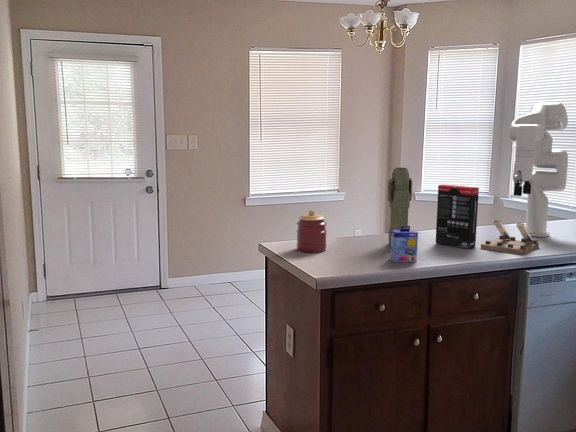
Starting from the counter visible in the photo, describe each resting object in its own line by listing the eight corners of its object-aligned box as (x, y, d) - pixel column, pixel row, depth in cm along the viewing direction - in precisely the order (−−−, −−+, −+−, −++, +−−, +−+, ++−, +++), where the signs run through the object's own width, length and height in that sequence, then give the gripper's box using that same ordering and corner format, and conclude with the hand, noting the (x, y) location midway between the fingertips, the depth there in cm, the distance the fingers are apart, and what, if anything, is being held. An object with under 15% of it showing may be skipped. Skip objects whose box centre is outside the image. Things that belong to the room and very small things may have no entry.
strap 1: (504, 238, 260) (504, 236, 261) (510, 239, 258) (511, 237, 259) (493, 222, 249) (494, 220, 250) (500, 223, 247) (501, 220, 248)
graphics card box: (476, 247, 252) (480, 186, 248) (469, 249, 247) (473, 187, 243) (441, 242, 264) (444, 183, 259) (434, 244, 259) (437, 184, 254)
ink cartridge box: (393, 262, 224) (394, 226, 222) (389, 259, 229) (390, 224, 227) (417, 262, 225) (418, 226, 222) (413, 258, 230) (414, 223, 228)
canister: (292, 251, 243) (292, 211, 240) (302, 245, 255) (302, 207, 252) (321, 254, 238) (321, 212, 236) (329, 247, 250) (330, 208, 248)
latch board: (499, 241, 264) (499, 234, 263) (538, 247, 252) (539, 239, 251) (480, 248, 249) (481, 240, 249) (521, 254, 237) (522, 246, 237)
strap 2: (526, 241, 253) (526, 239, 254) (532, 242, 251) (533, 240, 252) (516, 225, 242) (517, 222, 243) (523, 226, 240) (524, 223, 241)
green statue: (381, 244, 258) (383, 167, 252) (401, 241, 264) (404, 166, 258) (394, 247, 250) (397, 169, 245) (414, 245, 256) (417, 168, 251)
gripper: (524, 153, 247) (521, 192, 250) (507, 154, 235) (505, 195, 237) (541, 154, 242) (538, 193, 245) (525, 155, 230) (523, 197, 232)
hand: (522, 194), depth 241 cm, fingers open, 9 cm apart
